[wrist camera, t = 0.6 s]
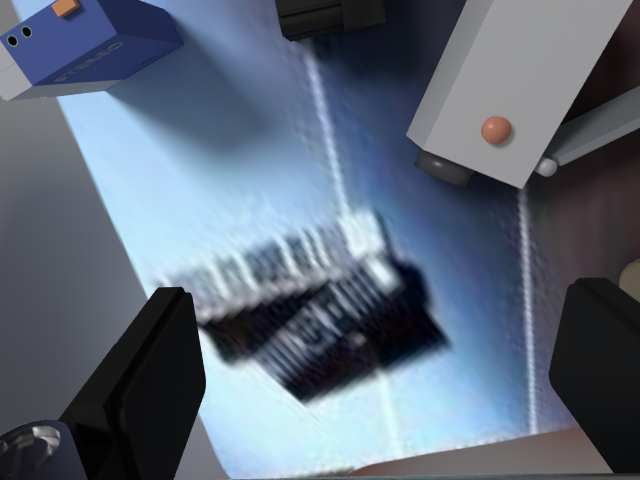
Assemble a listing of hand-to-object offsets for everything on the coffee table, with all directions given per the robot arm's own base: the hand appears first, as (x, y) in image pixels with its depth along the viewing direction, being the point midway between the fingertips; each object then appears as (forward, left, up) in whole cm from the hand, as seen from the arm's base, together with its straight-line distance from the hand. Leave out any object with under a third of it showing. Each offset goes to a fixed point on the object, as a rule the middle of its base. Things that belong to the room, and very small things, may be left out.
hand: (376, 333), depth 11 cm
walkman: (-1, -18, -28) cm, 33 cm away
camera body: (-10, +9, -27) cm, 30 cm away
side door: (-9, +18, -27) cm, 34 cm away
